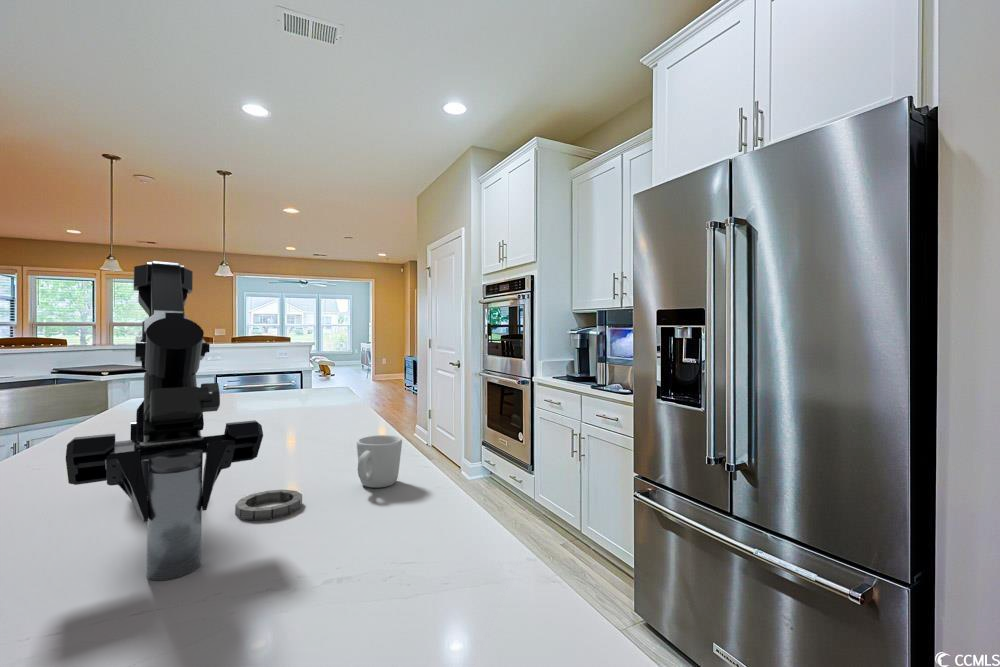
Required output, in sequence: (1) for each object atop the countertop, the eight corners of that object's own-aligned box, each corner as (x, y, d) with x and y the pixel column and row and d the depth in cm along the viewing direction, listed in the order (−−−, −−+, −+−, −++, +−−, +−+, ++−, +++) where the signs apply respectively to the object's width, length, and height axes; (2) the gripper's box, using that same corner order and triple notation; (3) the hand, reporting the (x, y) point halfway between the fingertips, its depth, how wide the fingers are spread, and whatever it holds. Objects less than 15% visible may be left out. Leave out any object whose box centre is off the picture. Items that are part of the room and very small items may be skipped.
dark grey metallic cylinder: (134, 576, 50) (137, 457, 50) (177, 555, 55) (179, 447, 55) (170, 583, 48) (173, 461, 49) (211, 561, 53) (213, 450, 53)
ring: (221, 516, 66) (221, 506, 66) (267, 496, 75) (267, 487, 75) (272, 523, 64) (273, 513, 64) (313, 501, 73) (313, 492, 73)
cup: (382, 498, 75) (383, 450, 75) (338, 494, 76) (339, 447, 76) (408, 478, 85) (409, 436, 85) (369, 475, 87) (370, 433, 87)
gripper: (69, 363, 49) (53, 495, 40) (261, 359, 61) (280, 461, 52) (75, 424, 55) (62, 550, 46) (248, 410, 67) (264, 508, 58)
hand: (176, 514), depth 50 cm, fingers closed on dark grey metallic cylinder, 5 cm apart
